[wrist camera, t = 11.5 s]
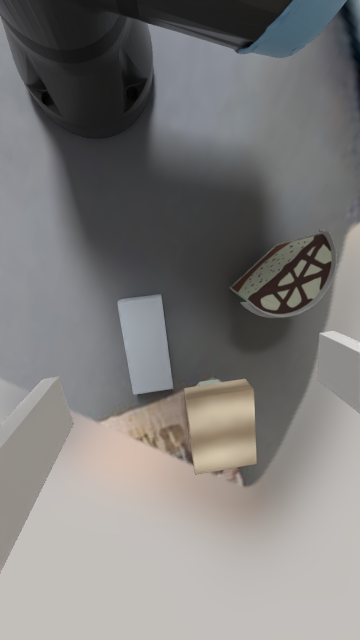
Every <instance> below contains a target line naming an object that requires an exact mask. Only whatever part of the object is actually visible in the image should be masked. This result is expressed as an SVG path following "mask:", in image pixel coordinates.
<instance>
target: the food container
mask: <svg viewBox="0 0 360 640" xmlns="http://www.w3.org/2000/svg"><path fill="white" fill-rule="evenodd" d="M319 232H320V233H316V234H313V235H309V236H305V237H302V238H298V239H295V240H291V241H287V242H284V243H280V244H276V245H275V246H274V247H273V248H272V249H271V250H269V251H268V252H267V253H266V254H265V255H264V256H263V257H262V258H261V259H260V260H259V261H258V262H257V263H256V264H254V265H253V266H252V267H251V268H250V269H249V270H248V271H247V272H246V273H245V274H244V275H243V276H242V277H241V278H240V279H238V280H237V281H236V282H235V283H234V284H233V285H232V286H231V287H230V289H231V290H232V291H233V292H234V293H235V294H236V295H238V296H239V297H240V298H242V299H243V300H244V301H246V302H241V304H242V305H243V306H244V307H245V308H246V309H248V310H249V311H250V312H252V313H254V314H257V315H259V316H263V317H269V318H287V317H291V316H295V315H297V314H300V313H302V312H304V311H306V310H308V309H310V308H311V307H312V306H314V305H315V304H316V303H317V302H318V301H319V300H320V299H321V298H322V297H323V296H324V294H325V293H326V292H327V290H328V288H329V287H330V285H331V283H332V280H333V278H334V275H335V270H336V264H337V251H336V246H335V242H334V240H333V237H332V235H331V233H330V231H329V230H328V231H327V230H319Z"/></svg>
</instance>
